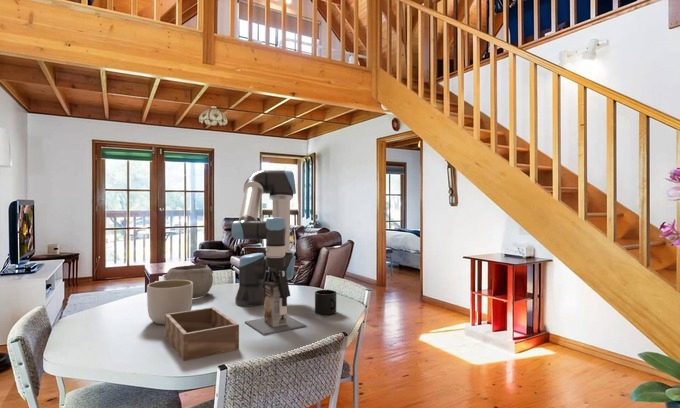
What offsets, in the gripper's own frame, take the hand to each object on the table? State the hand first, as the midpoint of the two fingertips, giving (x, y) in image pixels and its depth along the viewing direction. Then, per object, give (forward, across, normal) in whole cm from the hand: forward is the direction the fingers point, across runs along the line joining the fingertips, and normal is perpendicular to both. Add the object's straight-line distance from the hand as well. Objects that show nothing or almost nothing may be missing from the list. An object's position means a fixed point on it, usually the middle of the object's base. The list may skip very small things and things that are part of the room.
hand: (275, 310), depth 157 cm
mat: (+6, 0, 0) cm, 6 cm away
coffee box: (+5, 0, 0) cm, 5 cm away
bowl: (+6, -68, -15) cm, 70 cm away
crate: (+6, +4, -30) cm, 31 cm away
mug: (+6, -2, +26) cm, 27 cm away
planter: (+6, -28, -33) cm, 44 cm away
